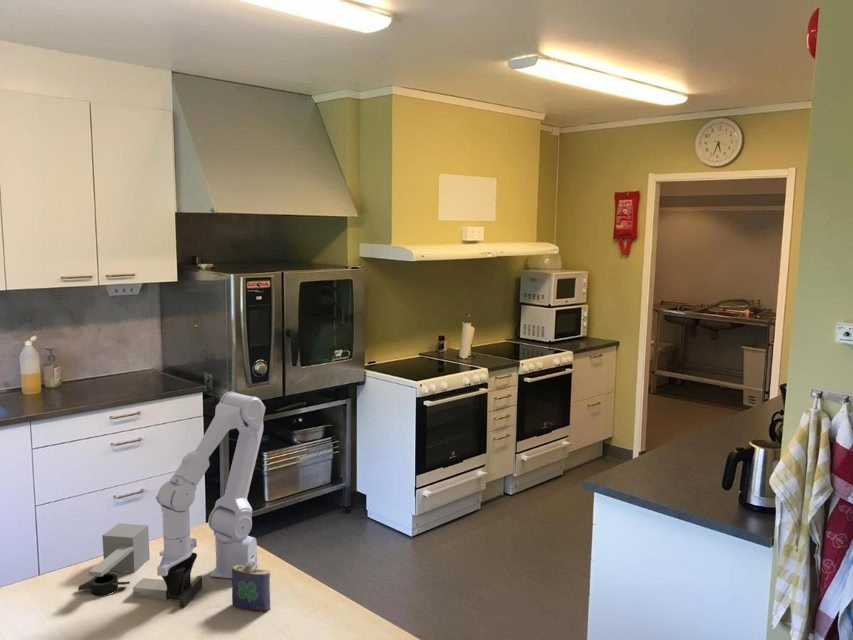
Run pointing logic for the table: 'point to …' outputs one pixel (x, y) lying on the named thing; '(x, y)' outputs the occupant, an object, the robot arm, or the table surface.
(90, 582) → the black ring with tabs
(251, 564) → the flask
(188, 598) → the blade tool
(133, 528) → the grey cube mallet
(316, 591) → the table surface
